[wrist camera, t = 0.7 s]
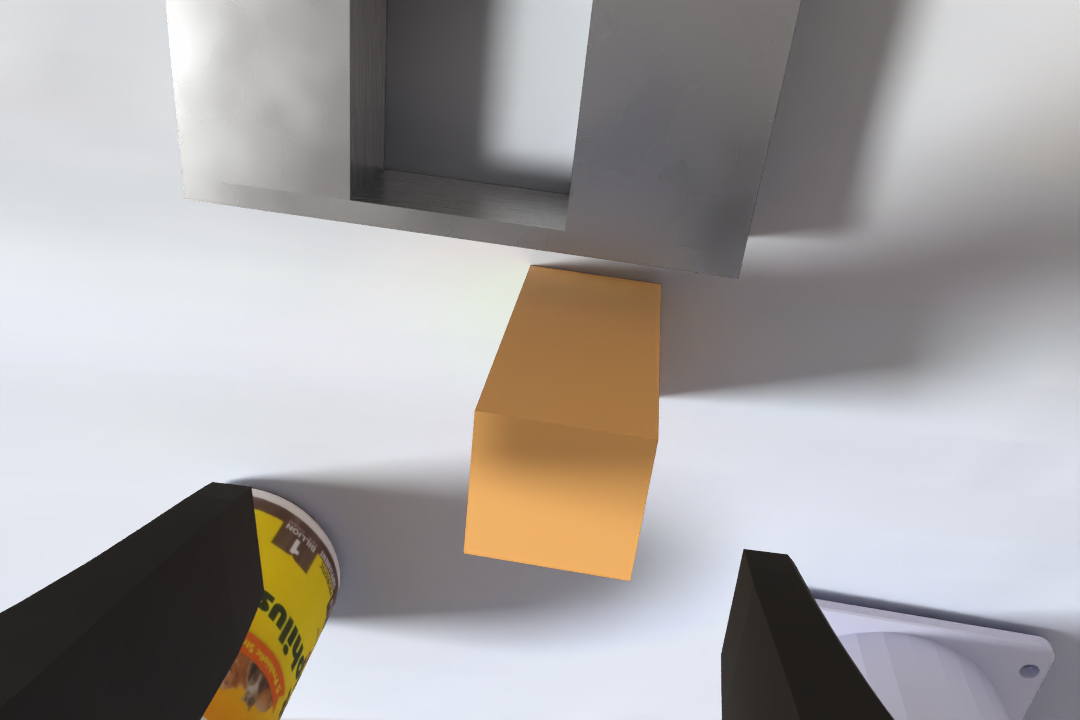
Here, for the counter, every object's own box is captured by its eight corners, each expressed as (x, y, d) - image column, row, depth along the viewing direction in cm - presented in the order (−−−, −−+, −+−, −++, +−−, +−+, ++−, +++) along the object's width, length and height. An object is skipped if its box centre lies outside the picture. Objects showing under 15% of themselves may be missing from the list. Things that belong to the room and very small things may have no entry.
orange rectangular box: (640, 397, 23) (630, 581, 16) (518, 378, 23) (464, 553, 17) (661, 283, 21) (658, 439, 15) (530, 265, 21) (474, 410, 15)
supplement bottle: (355, 628, 28) (205, 974, 19) (189, 609, 28) (-34, 937, 19) (339, 484, 25) (157, 806, 16) (157, 467, 26) (-117, 768, 17)
